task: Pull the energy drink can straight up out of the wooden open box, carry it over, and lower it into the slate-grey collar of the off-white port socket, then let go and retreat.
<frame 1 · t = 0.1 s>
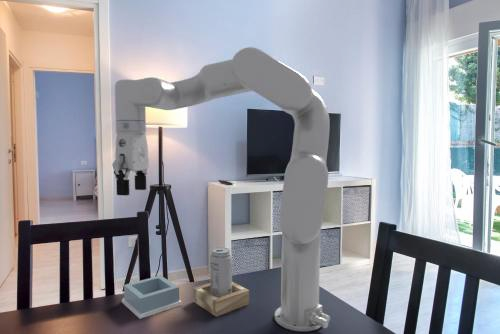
hand: (132, 192, 96), 31 cm above the table, tool pointing down, fingers open, 9 cm apart
energy drink can: (221, 303, 100), resting in wooden open box
wooden open box: (221, 303, 100), on the table
port socket: (151, 303, 99), on the table
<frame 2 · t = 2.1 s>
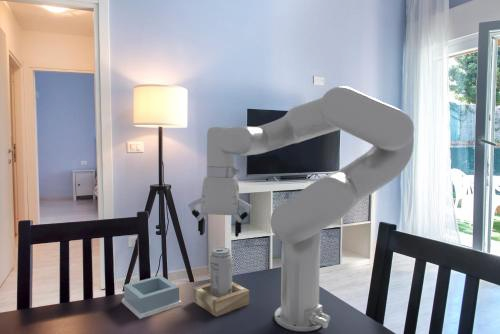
hand: (219, 234, 98), 19 cm above the table, tool pointing down, fingers open, 9 cm apart
nothing on the table moved.
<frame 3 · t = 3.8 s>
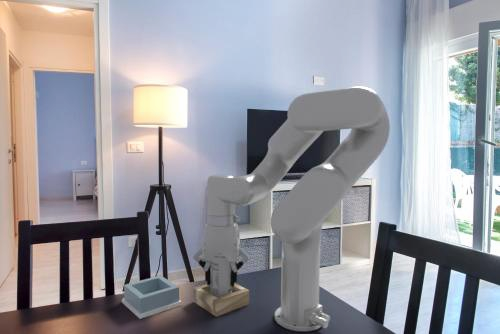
hand: (221, 283, 99), 6 cm above the table, tool pointing down, fingers closed on energy drink can, 6 cm apart
energy drink can: (221, 303, 100), resting in wooden open box, touching gripper
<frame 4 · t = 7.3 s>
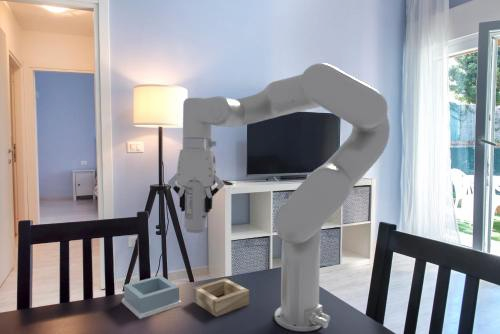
hand: (195, 210, 98), 26 cm above the table, tool pointing down, fingers closed on energy drink can, 6 cm apart
energy drink can: (195, 231, 98), point 20 cm above the table, touching gripper
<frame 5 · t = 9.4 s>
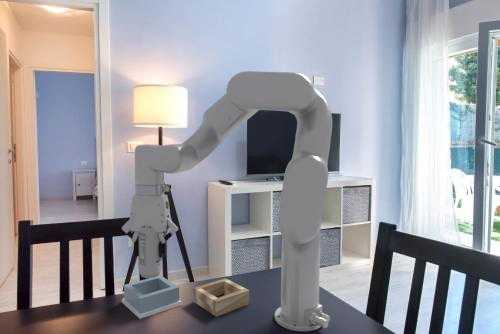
hand: (150, 254, 98), 14 cm above the table, tool pointing down, fingers closed on energy drink can, 6 cm apart
energy drink can: (150, 275, 99), point 8 cm above the table, touching gripper
when the fingers open (8 cm above the table, at t = 11.0 s): energy drink can drops 1 cm, resting on port socket.
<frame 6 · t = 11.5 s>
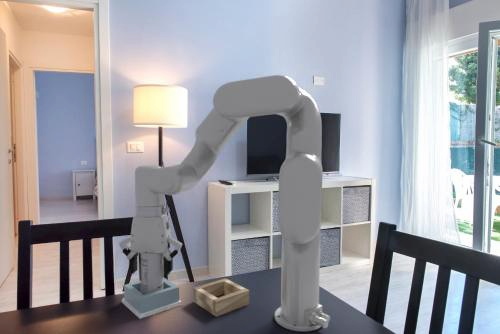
hand: (151, 272, 98), 9 cm above the table, tool pointing down, fingers open, 9 cm apart
energy drink can: (152, 300, 99), point 1 cm above the table, touching port socket
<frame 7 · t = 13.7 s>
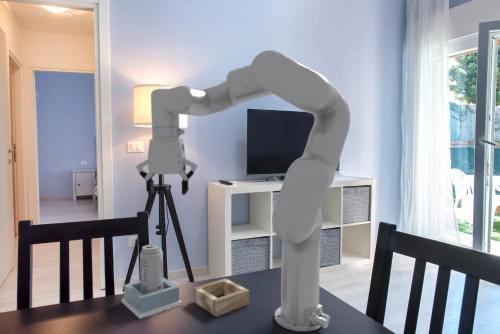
hand: (167, 194, 102), 30 cm above the table, tool pointing down, fingers open, 9 cm apart
nothing on the table moved.
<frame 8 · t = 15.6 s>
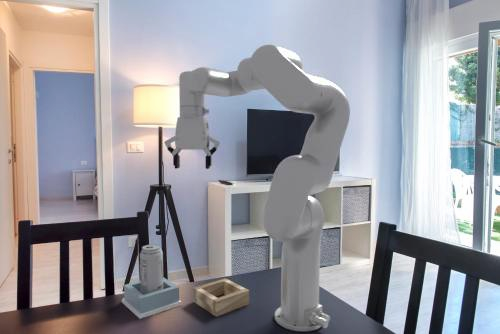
hand: (192, 168, 112), 36 cm above the table, tool pointing down, fingers open, 9 cm apart
nothing on the table moved.
at the end: energy drink can 0.1 cm off-centre on the port socket, point 0.8 cm above the port socket's base; energy drink can tilted 0°; the gripper is holding nothing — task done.
